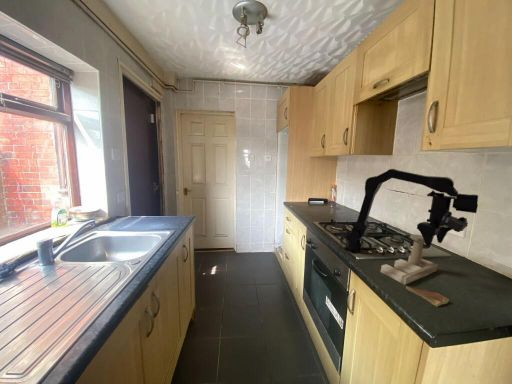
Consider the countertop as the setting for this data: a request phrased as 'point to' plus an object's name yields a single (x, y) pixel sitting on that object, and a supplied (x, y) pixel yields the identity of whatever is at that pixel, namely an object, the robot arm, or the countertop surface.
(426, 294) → the shard
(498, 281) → the countertop surface
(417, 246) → the handle
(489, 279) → the countertop surface
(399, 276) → the notched rail
